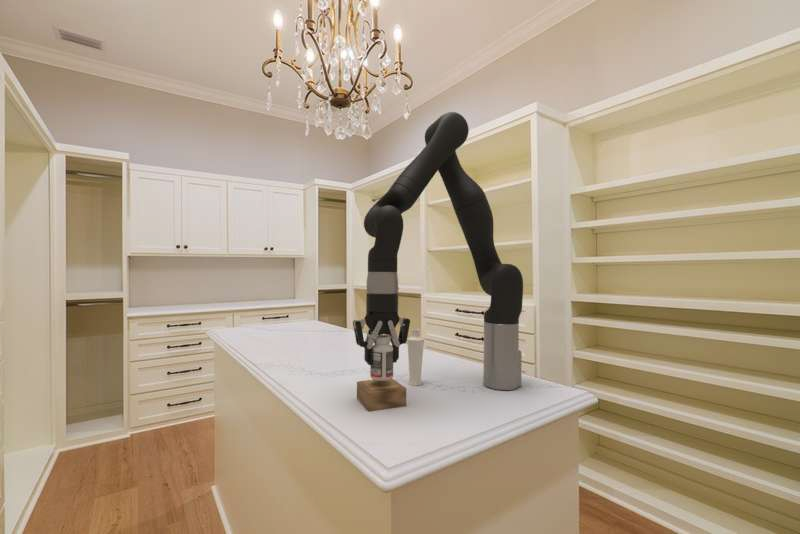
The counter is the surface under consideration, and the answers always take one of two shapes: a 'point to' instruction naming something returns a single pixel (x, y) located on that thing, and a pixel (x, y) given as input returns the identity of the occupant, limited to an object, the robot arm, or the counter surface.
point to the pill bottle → (382, 359)
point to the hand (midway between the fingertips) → (381, 362)
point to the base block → (381, 394)
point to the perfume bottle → (415, 357)
